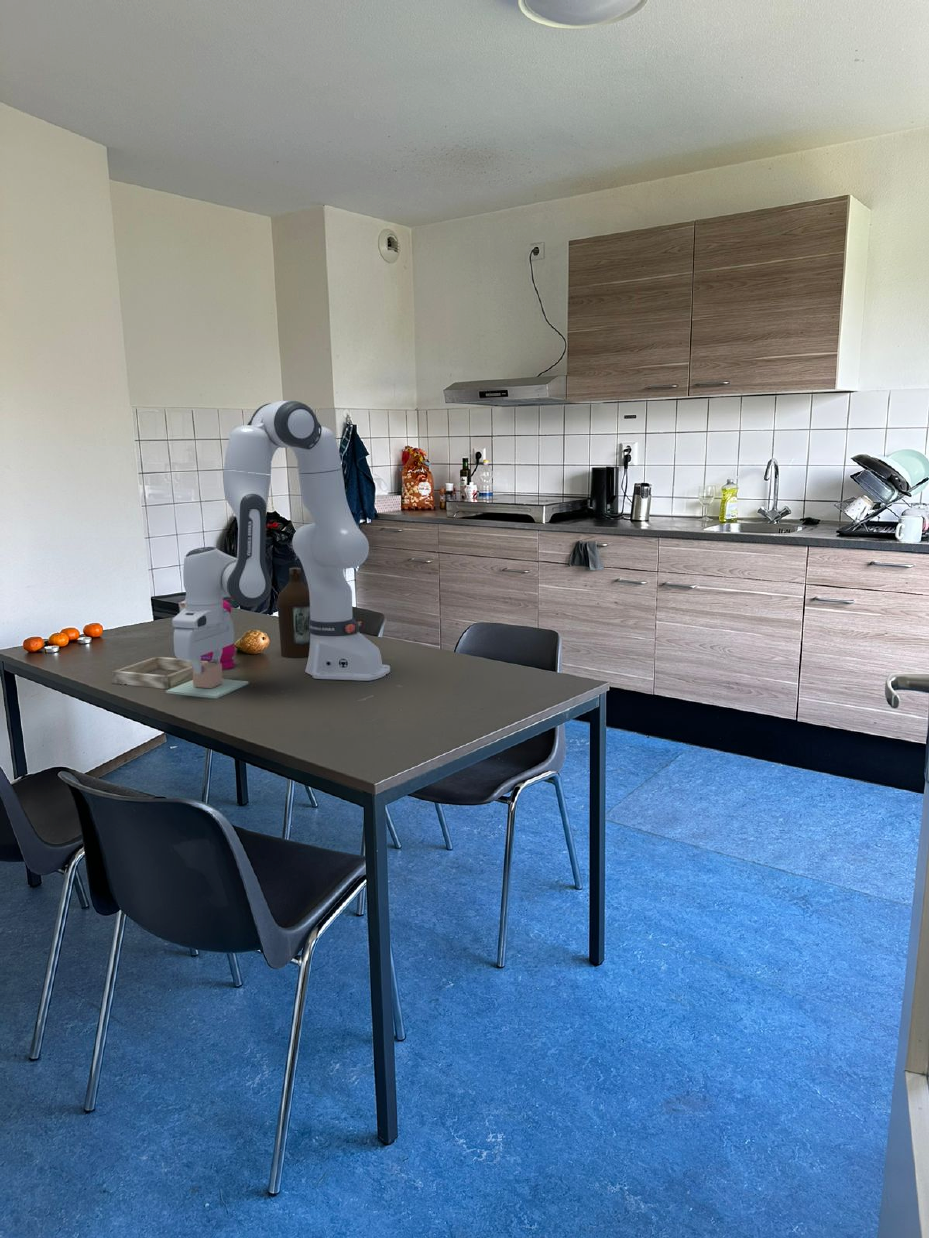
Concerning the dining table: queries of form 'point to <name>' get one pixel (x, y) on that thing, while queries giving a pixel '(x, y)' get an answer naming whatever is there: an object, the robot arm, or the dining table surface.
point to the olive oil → (294, 617)
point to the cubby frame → (139, 678)
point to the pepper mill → (228, 650)
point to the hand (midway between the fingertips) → (207, 669)
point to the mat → (207, 689)
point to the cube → (208, 675)
